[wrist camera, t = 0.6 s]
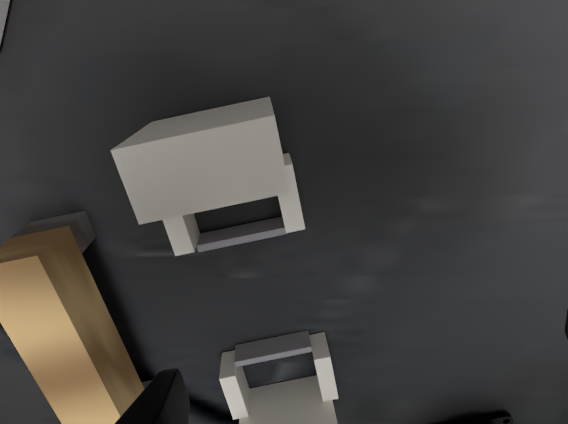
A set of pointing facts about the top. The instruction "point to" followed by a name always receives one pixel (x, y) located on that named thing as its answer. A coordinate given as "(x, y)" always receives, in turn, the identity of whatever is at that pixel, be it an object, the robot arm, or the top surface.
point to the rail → (65, 322)
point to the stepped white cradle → (230, 233)
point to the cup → (3, 15)
